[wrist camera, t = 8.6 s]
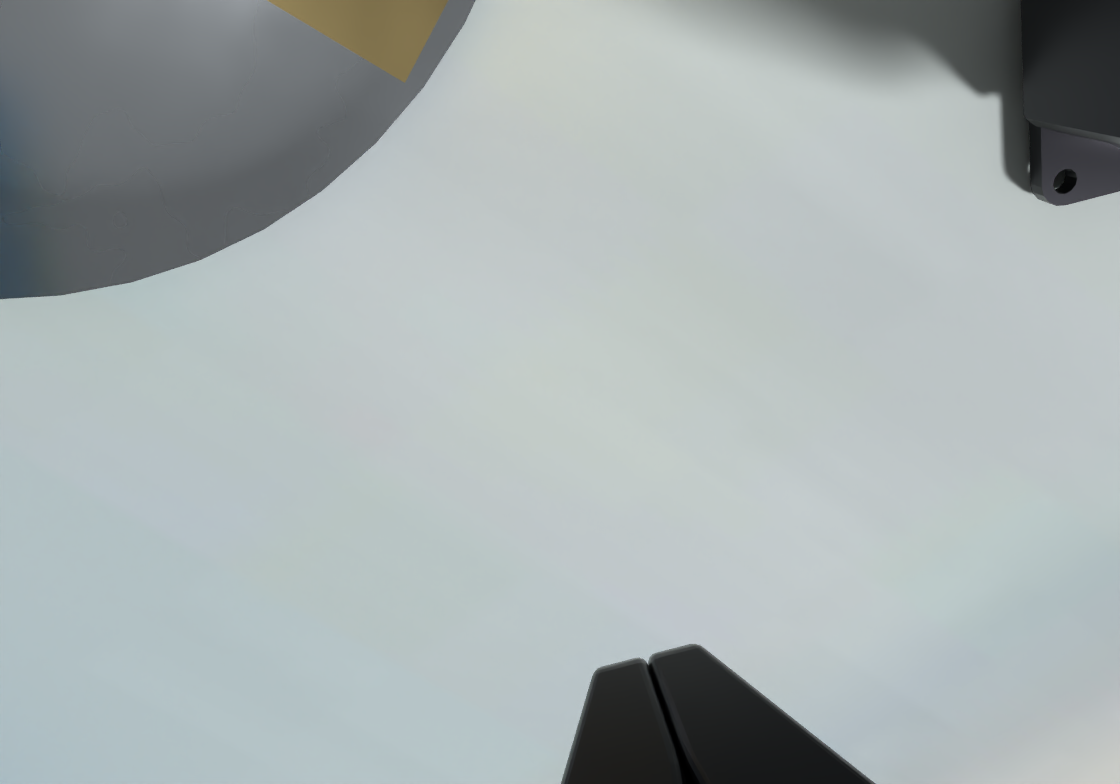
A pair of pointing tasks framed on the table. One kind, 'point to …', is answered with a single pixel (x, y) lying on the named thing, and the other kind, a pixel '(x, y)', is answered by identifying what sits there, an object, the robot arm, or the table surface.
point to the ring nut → (373, 27)
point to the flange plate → (172, 130)
